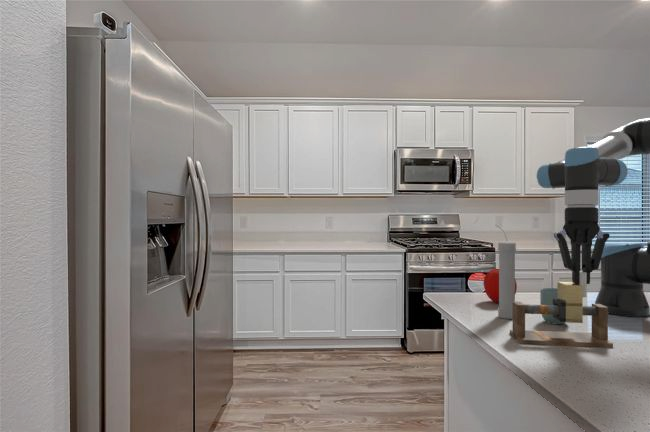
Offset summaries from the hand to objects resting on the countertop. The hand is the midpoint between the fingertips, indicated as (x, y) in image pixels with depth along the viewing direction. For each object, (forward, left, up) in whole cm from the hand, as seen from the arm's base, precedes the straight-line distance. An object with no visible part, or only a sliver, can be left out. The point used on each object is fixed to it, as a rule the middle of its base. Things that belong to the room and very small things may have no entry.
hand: (581, 296), depth 107 cm
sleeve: (+3, 0, -6) cm, 7 cm away
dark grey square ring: (+5, 0, -6) cm, 8 cm away
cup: (-1, -18, -12) cm, 22 cm away
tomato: (+8, -45, -12) cm, 47 cm away
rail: (+5, 0, -12) cm, 13 cm away
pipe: (+12, -23, -12) cm, 29 cm away
